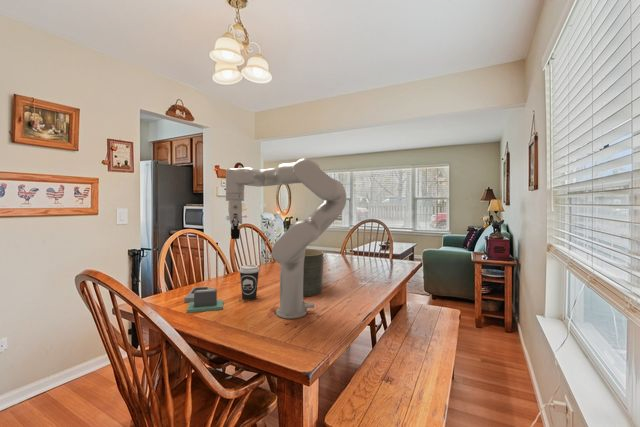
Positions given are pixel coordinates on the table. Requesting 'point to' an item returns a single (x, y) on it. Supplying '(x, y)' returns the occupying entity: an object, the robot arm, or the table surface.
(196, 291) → the block
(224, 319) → the table surface
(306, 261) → the planter
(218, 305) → the board
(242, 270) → the coffee cup
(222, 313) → the table surface
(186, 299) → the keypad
